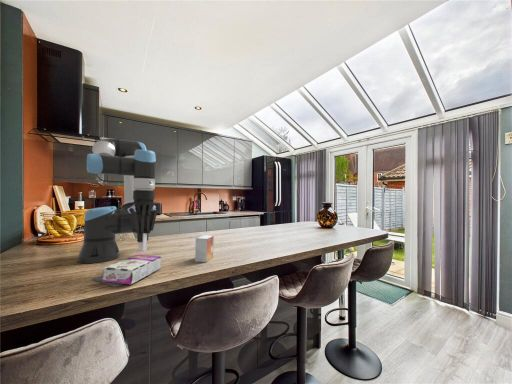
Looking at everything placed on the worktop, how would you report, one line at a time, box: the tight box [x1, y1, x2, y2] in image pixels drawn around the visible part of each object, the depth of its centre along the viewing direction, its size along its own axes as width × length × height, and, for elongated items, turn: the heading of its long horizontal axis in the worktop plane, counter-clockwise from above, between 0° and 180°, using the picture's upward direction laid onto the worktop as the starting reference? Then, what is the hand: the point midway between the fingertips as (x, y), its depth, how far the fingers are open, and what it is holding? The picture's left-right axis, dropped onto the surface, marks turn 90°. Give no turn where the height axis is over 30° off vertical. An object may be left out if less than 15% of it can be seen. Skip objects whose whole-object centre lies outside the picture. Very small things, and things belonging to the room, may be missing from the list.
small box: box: [194, 234, 215, 263], centre depth 100 cm, size 8×6×10 cm
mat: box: [92, 272, 154, 288], centre depth 78 cm, size 13×14×1 cm
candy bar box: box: [102, 254, 162, 285], centre depth 78 cm, size 11×5×16 cm
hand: (142, 249), depth 84 cm, fingers closed
